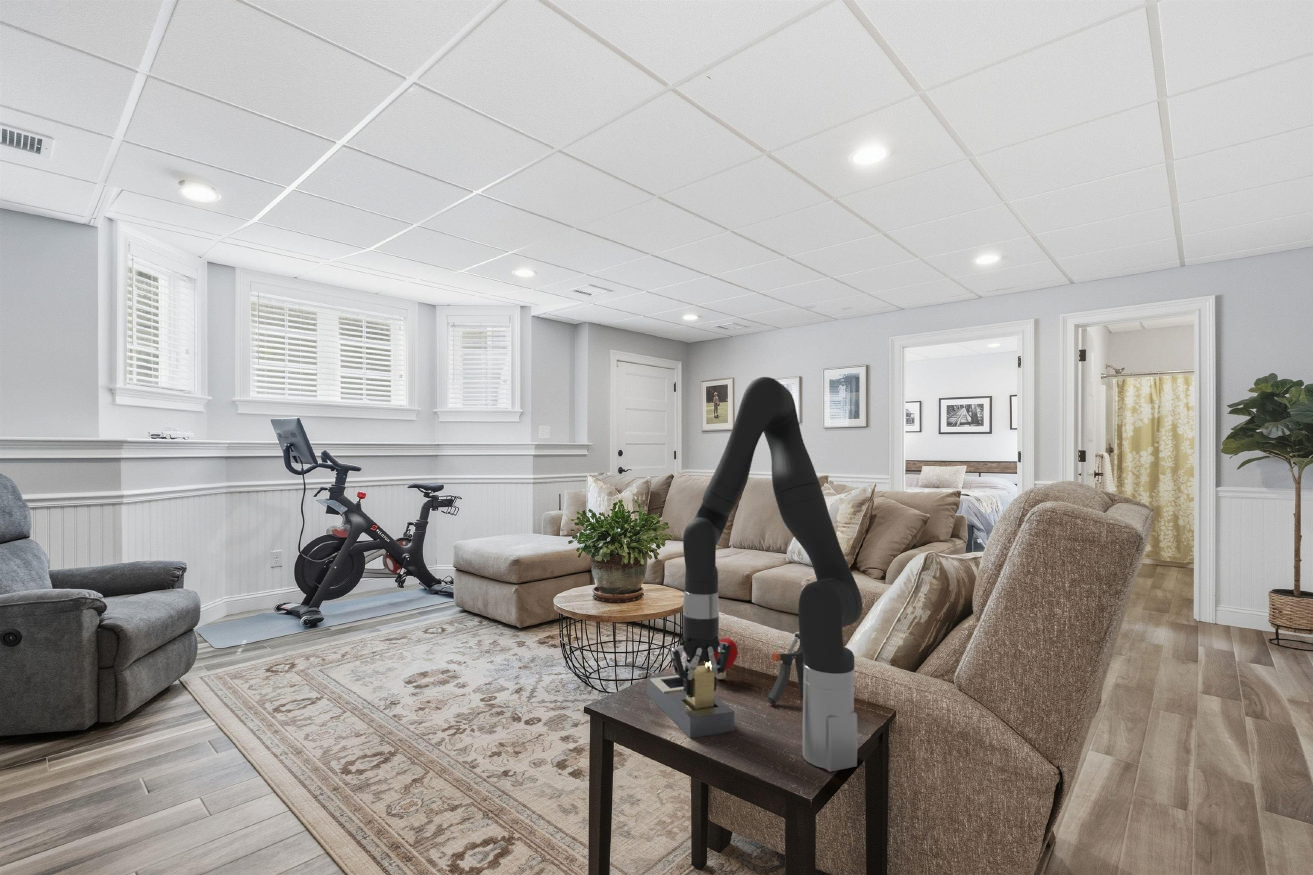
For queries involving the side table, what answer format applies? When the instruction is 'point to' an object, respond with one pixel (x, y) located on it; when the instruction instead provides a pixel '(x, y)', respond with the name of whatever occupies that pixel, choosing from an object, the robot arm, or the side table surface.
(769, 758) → the side table surface
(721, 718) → the grey peg holder block
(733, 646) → the red two-lobed part
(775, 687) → the hand grip strengthener
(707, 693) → the brass block
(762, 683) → the side table surface
